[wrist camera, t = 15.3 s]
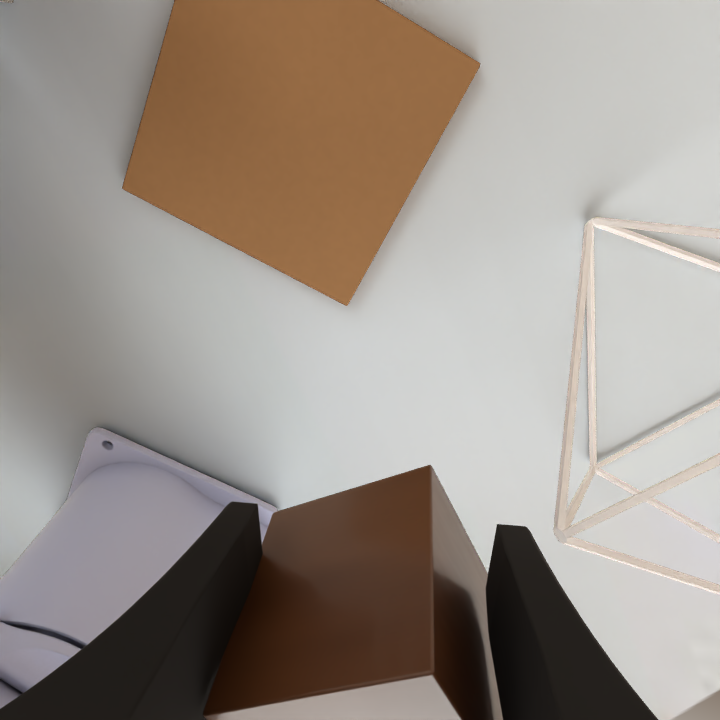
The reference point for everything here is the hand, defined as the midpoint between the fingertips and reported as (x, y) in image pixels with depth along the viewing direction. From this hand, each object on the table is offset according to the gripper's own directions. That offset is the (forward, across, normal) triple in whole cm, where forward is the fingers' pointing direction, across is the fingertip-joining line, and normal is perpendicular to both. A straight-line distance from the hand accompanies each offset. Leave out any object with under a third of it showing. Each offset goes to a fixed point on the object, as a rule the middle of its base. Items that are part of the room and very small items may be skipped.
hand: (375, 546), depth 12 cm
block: (+1, 0, +2) cm, 2 cm away
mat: (+10, +4, -8) cm, 14 cm away
